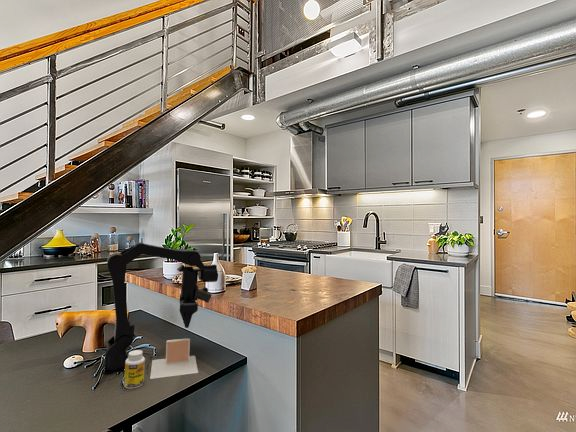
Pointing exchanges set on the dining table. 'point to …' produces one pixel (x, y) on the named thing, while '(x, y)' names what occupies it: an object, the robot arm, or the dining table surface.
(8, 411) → the dining table surface
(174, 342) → the tile
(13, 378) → the dining table surface
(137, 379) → the supplement bottle
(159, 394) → the dining table surface
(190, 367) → the mat
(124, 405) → the dining table surface
